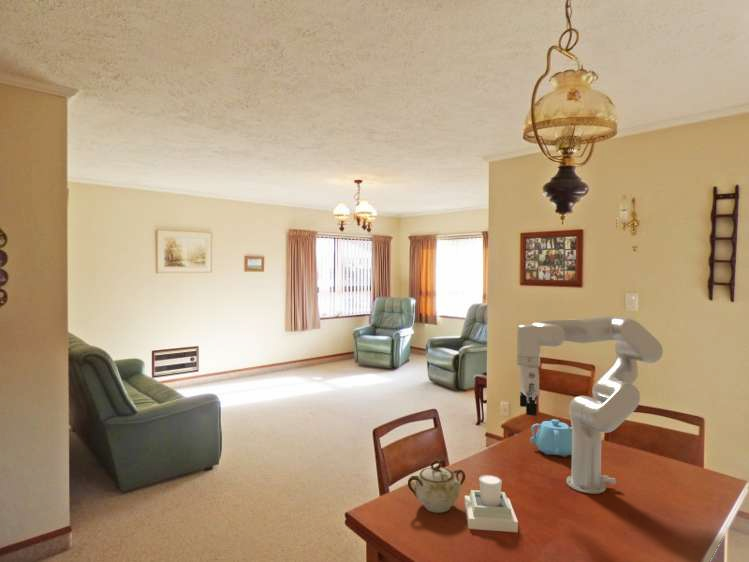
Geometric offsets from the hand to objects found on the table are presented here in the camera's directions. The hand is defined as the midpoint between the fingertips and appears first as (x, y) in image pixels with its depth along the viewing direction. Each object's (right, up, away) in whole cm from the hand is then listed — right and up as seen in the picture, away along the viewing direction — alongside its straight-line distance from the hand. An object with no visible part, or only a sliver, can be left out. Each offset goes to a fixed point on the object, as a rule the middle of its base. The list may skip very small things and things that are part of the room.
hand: (527, 410), depth 153 cm
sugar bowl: (-32, -28, -9) cm, 44 cm away
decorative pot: (+24, -28, +37) cm, 52 cm away
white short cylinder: (-17, -24, -16) cm, 33 cm away
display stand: (-17, -28, -16) cm, 37 cm away
